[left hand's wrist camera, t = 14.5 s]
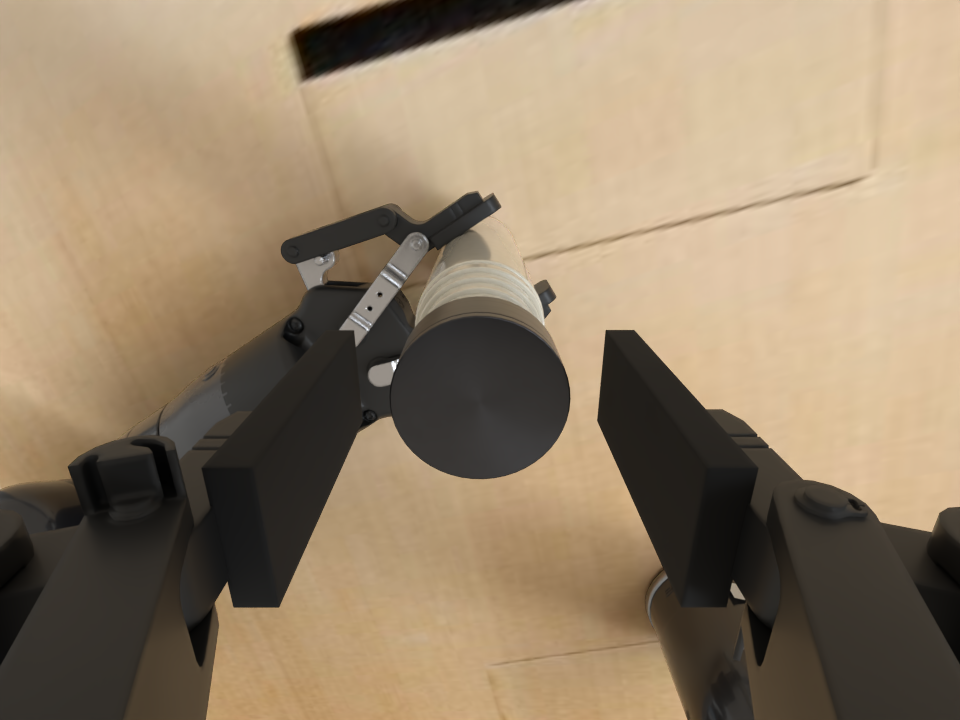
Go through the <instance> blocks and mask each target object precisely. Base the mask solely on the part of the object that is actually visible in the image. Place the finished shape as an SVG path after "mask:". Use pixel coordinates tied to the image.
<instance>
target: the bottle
mask: <svg viewBox="0 0 960 720" xmlns="http://www.w3.org/2000/svg"><path fill="white" fill-rule="evenodd" d="M475 296H485V297H494V298H499V299H503V300H506V301H510V302H512V303H514V304H516V305H519V306H520V307H522V308H524V309H525V310H527V311H529V312H530V313H531V314H532V315H533V316H535V317H536V318H537V319H538V320H539V321H540V322H541V323H542V324H543V325H544V327H545V321H544V312H543V307H542V304H541V301H540V298H539V296H538V294H537V291H536V289H535V287H534V284H533V282H532V280H531V277H530V275H529V273H528V270H527V268H526V266H525V263H524V261H523V259H522V257H521V254H520V252H519V250H518V247H517V245H516V243H515V240H514V238H513V236H512V234H511V232H510V231H509V229H508V228H507V227H506V226H505V225H504V224H503V223H502V222H500V221H499V220H497V219H495V218H492V217H489V216H488V217H487V218H485V219H484V220H482V221H481V222H479V223H478V224H476V225H475V226H473V227H472V228H470V229H469V230H467V231H466V232H464V233H463V234H461V235H460V236H458V237H456V238H455V239H453V240H452V241H451V242H449V243H448V244H446V245H445V246H443V247H442V249H441V251H440V253H439V256H438V258H437V260H436V263H435V265H434V267H433V270H432V272H431V274H430V277H429V279H428V281H427V284H426V286H425V288H424V291H423V293H422V295H421V297H420V300H419V303H418V306H417V311H416V319H415V327H416V325H417V324H418V323H419V322H420V321H421V320H422V319H423V318H424V317H425V316H426V315H427V314H429V313H430V312H432V311H433V310H434V309H436V308H438V307H440V306H441V305H443V304H445V303H448V302H451V301H453V300H457V299H461V298H465V297H475Z"/></svg>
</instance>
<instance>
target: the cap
mask: <svg viewBox="0 0 960 720" xmlns="http://www.w3.org/2000/svg"><path fill="white" fill-rule="evenodd" d="M569 408H570V387H569V381H568V377H567V374H566V371H565V368H564V366H563V363H562V361H561V358H560V356H559V353H558V351H557V349H556V346H555V344H554V342H553V340H552V338H551V336H550V334H549V332H548V331H547V330H546V328H545V327H544V325H543V324H542V323H541V322H540V321H539V320H538V319H537V318H536V317H535V316H533V315H532V314H531V313H530V312H529V311H527V310H525V309H524V308H522V307H520V306H519V305H516V304H514V303H512V302H510V301H506V300H503V299H499V298H494V297H485V296H475V297H465V298H461V299H457V300H453V301H451V302H448V303H445V304H443V305H441V306H440V307H438V308H436V309H434V310H433V311H432V312H430V313H429V314H427V315H426V316H425V317H424V318H423V319H422V320H421V321H420V322H419V323H418V324H417V325H416V327H415V328H414V329H413V330H412V332H411V334H410V335H409V337H408V339H407V341H406V344H405V346H404V348H403V351H402V353H401V356H400V358H399V361H398V363H397V366H396V368H395V371H394V373H393V377H392V381H391V385H390V409H391V414H392V418H393V421H394V424H395V427H396V429H397V431H398V433H399V435H400V436H401V438H402V439H403V441H404V442H405V444H406V445H407V446H408V447H409V448H410V449H411V451H412V452H413V453H414V454H415V455H417V456H418V457H419V458H420V459H421V460H423V461H424V462H426V463H427V464H429V465H430V466H432V467H434V468H436V469H438V470H440V471H442V472H445V473H447V474H450V475H454V476H458V477H462V478H470V479H490V478H497V477H502V476H506V475H509V474H512V473H516V472H518V471H520V470H522V469H524V468H526V467H528V466H530V465H531V464H533V463H534V462H536V461H537V460H538V459H540V458H541V457H542V456H543V455H544V454H545V453H546V452H547V451H548V450H549V449H550V448H551V447H552V446H553V444H554V443H555V442H556V441H557V439H558V437H559V436H560V434H561V432H562V430H563V428H564V426H565V423H566V421H567V417H568V413H569Z"/></svg>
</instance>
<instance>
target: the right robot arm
mask: <svg viewBox="0 0 960 720" xmlns="http://www.w3.org/2000/svg"><path fill="white" fill-rule="evenodd" d="M500 208H501V205H500V203H499V202H498V200H497V198H496V197H495V195H494V193H492V194H490V195H488V196H487V197H485V198H484V199H482V197H481V195H480V194H479V192H478V191H474V192H470V193H467V194H465V195H464V196H462V197H461V198H459V199H458V200H456V201H455V202H453V203H452V204H451V205H449V206H448V207H446V208H445V209H443V210H442V211H440V212H439V213H437V214H436V215H434V216H433V217H432V218H430V219H428V220H426V221H416V220H414V219H412V218H411V217H409V216H408V215H407V214H405V213H404V212H403V211H402V210H401V208H400V207H399V206H397V205H395V204H387V205H384V206H381V207H378V208H375V209H372V210H369V211H367V212H364V213H361V214H358V215H355V216H352V217H349V218H346V219H343V220H340V221H338V222H335V223H332V224H329V225H326V226H323V227H320V228H317V229H314V230H311V231H309V232H306V233H303V234H301V235H298V236H296V237H293V238H291V239H289V240H286V241H285V242H284V243H283V244H282V246H281V254H282V256H283V258H284V259H285V260H286V261H287V262H289V263H292V264H296V266H297V268H298V270H299V272H300V274H301V277H302V279H303V281H304V283H305V285H306V288H307V290H308V291H307V292H306V293H305V295H304V296H303V299H302V301H301V304H300V305H299V307H298V308H297V309H296V310H295V311H294V312H292V313H291V314H289V315H288V316H286V317H285V318H283V319H282V320H281V321H279V322H278V323H276V324H275V325H273V326H272V327H270V328H269V329H267V330H266V331H264V332H263V333H262V334H260V335H259V336H257V337H256V338H254V339H253V340H251V341H250V342H248V343H247V344H245V345H244V346H243V347H241V348H240V349H238V350H237V351H235V352H234V353H232V354H231V355H229V356H228V357H226V358H225V359H224V360H222V361H221V362H219V363H217V364H215V365H213V366H211V367H210V368H209V369H208V370H207V371H206V372H205V373H203V374H202V375H200V376H199V377H198V378H196V379H195V380H194V381H193V382H192V383H191V384H189V385H188V386H187V387H186V388H185V389H184V390H183V391H182V392H181V393H180V394H179V395H178V396H177V397H176V398H174V399H173V400H172V401H170V402H169V403H168V404H166V405H165V406H163V407H162V408H160V409H159V410H157V411H156V412H154V413H153V414H151V415H150V416H148V417H147V418H146V419H144V420H143V421H141V422H139V423H138V424H137V425H135V426H134V427H132V428H131V429H129V430H128V431H127V432H125V433H124V434H123V435H122V436H121V437H119V438H118V439H117V440H119V439H123V438H128V437H133V436H143V435H157V436H164V437H168V438H169V439H171V440H172V441H174V442H175V446H176V450H177V454H178V458H179V460H180V459H181V458H182V457H183V456H184V455H185V454H186V453H187V452H188V451H189V450H192V447H193V446H194V445H195V444H196V443H197V442H198V441H199V440H200V439H203V436H204V435H205V434H206V433H207V432H208V431H209V430H210V429H211V428H212V427H213V426H214V425H215V424H216V423H217V422H219V421H221V420H223V419H224V418H226V417H228V416H230V415H232V414H234V413H235V412H237V411H253V410H254V409H255V408H256V407H257V406H258V405H259V404H260V402H261V401H262V400H263V399H264V398H265V397H266V396H267V395H268V394H269V392H270V391H271V390H272V389H273V388H274V387H275V386H276V385H277V384H278V383H279V381H280V380H281V379H282V378H283V377H284V376H285V375H286V374H287V373H288V371H289V370H290V369H291V368H292V367H293V366H294V365H295V364H296V363H297V361H298V360H299V359H300V358H301V357H302V356H303V355H304V354H305V353H306V352H307V350H308V349H309V348H310V347H311V346H312V345H313V344H314V343H315V342H316V340H317V339H318V338H319V337H320V336H321V335H322V334H323V333H324V332H325V331H326V330H354V334H355V344H356V355H357V366H358V376H359V387H360V397H361V408H362V419H363V421H362V424H361V426H360V428H359V430H358V432H360V431H361V430H363V429H365V428H366V427H368V426H369V425H371V424H372V423H374V422H375V421H377V420H379V419H381V418H385V417H391V416H392V414H391V409H390V385H391V381H392V377H393V373H394V371H395V368H396V366H397V363H398V361H399V358H400V356H401V353H402V351H403V348H404V346H405V344H406V341H407V339H408V337H409V335H410V334H411V332H412V330H413V329H414V328H415V319H416V316H415V315H414V314H413V312H412V309H411V307H410V304H409V302H408V300H407V298H406V297H405V295H404V294H403V293H402V291H401V290H400V288H401V287H402V285H403V284H404V283H405V281H406V280H407V278H408V277H409V276H410V274H411V273H412V272H413V270H414V269H415V268H416V266H417V265H418V264H419V262H420V261H421V259H422V258H423V257H424V255H425V254H426V253H427V252H428V251H429V250H431V249H432V248H434V247H436V249H437V250H439V249H440V248H442V247H443V246H445V245H446V244H448V243H449V242H451V241H452V240H453V239H455V238H456V237H458V236H460V235H461V234H463V233H464V232H466V231H467V230H469V229H470V228H472V227H473V226H475V225H476V224H478V223H479V222H481V221H482V220H484V219H485V218H487V217H488V216H490V215H491V214H493V213H494V212H496V211H497V210H498V209H500ZM384 234H385V235H387V236H388V237H389V238H391V239H392V240H394V241H395V242H396V243H398V244H399V245H400V247H399V248H398V250H397V251H396V252H395V254H394V255H393V257H392V258H391V259H390V261H389V262H388V263H387V265H386V266H385V267H384V269H383V270H382V271H381V273H380V274H379V276H378V277H377V278H376V280H375V281H374V282H373V283H364V282H344V281H328V278H327V273H328V270H329V269H330V268H332V267H333V266H334V265H336V264H337V263H338V261H339V258H340V254H339V251H338V250H339V249H342V248H345V247H348V246H351V245H354V244H357V243H360V242H363V241H366V240H369V239H372V238H375V237H378V236H381V235H384ZM534 287H535V289H536V291H537V294H538V296H539V298H540V301H541V304H542V307H543V312H544V319H545V318H546V317H547V315H548V314H549V313H550V311H551V309H550V307H549V305H548V304H549V303H551V302H552V301H553V300H554V299H555V298H556V295H555V293H554V292H553V290H552V288H551V287H550V285H549V283H548V282H547V280H543V281H540V282H539V283H537V284H535V285H534ZM358 432H357V433H358ZM0 509H1V510H13V511H15V512H16V513H18V514H20V515H21V516H22V518H23V521H24V523H25V526H26V528H27V531H28V533H29V535H30V534H35V533H40V532H46V531H51V530H56V529H61V528H67V527H72V526H77V525H79V524H80V522H81V521H82V519H83V517H84V513H83V510H82V507H81V504H80V501H79V498H78V495H77V492H76V489H75V486H74V483H73V481H72V479H65V480H51V481H39V482H28V483H21V484H16V485H12V486H8V487H5V488H3V489H1V490H0ZM745 603H746V600H745V598H744V597H743V595H742V593H741V592H740V590H739V588H738V587H737V585H736V583H735V582H734V580H733V581H732V586H731V590H730V594H729V598H728V603H727V607H681V606H680V604H679V602H678V600H677V597H676V595H675V593H674V591H673V588H672V586H671V584H670V582H669V579H668V577H667V575H666V573H665V571H664V570H663V571H662V572H661V573H660V574H659V575H658V576H657V577H656V578H655V579H654V580H653V582H652V583H651V585H650V587H649V589H648V592H647V595H646V601H645V606H646V611H647V614H648V617H649V620H650V622H651V624H652V626H653V628H654V629H655V632H656V635H657V638H658V640H659V643H660V646H661V649H662V652H663V655H664V657H665V660H666V663H667V665H668V668H669V671H670V674H671V676H672V679H673V682H674V684H675V687H676V690H677V692H678V695H679V698H680V701H681V703H682V706H683V709H684V711H685V714H686V717H687V719H688V720H754V713H753V706H752V699H751V691H750V684H749V677H748V670H747V663H746V655H745V649H744V650H743V652H742V656H741V660H740V661H737V660H733V653H734V647H735V643H736V639H737V635H738V631H739V627H740V623H741V619H742V615H743V611H744V607H745Z"/></svg>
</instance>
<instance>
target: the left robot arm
mask: <svg viewBox="0 0 960 720" xmlns="http://www.w3.org/2000/svg"><path fill="white" fill-rule="evenodd" d="M362 421H363V419H362V408H361V397H360V387H359V376H358V366H357V355H356V344H355V334H354V330H326V331H325V332H324V333H323V334H322V335H321V336H320V337H319V338H318V339H317V340H316V342H315V343H314V344H313V345H312V346H311V347H310V348H309V349H308V350H307V352H306V353H305V354H304V355H303V356H302V357H301V358H300V359H299V360H298V361H297V363H296V364H295V365H294V366H293V367H292V368H291V369H290V370H289V371H288V373H287V374H286V375H285V376H284V377H283V378H282V379H281V380H280V381H279V383H278V384H277V385H276V386H275V387H274V388H273V389H272V390H271V391H270V392H269V394H268V395H267V396H266V397H265V398H264V399H263V400H262V401H261V402H260V404H259V405H258V406H257V407H256V408H255V409H254V410H253V411H237V412H235V413H234V414H232V415H230V416H228V417H226V418H224V419H223V420H221V421H219V422H217V423H216V424H215V425H214V426H213V427H212V428H211V429H210V430H209V431H208V432H207V433H206V434H205V435H204V436H203V439H200V440H199V441H198V442H197V443H196V444H195V445H194V446H193V447H192V450H189V451H188V452H187V453H186V454H185V455H184V456H183V457H182V458H181V459H180V460H179V458H178V454H177V450H176V446H175V442H174V441H172V440H171V439H169V438H168V437H164V436H157V435H143V436H133V437H128V438H123V439H119V440H114V441H112V442H109V443H106V444H103V445H101V446H98V447H95V448H93V449H91V450H90V451H88V452H86V453H84V454H82V455H81V456H79V457H78V458H76V459H75V460H74V461H73V462H72V463H71V464H70V465H69V466H68V469H69V472H70V475H71V478H72V481H73V483H74V486H75V489H76V492H77V495H78V498H79V501H80V504H81V507H82V510H83V513H84V517H83V519H82V521H81V522H80V524H79V525H77V526H72V527H67V528H61V529H56V530H51V531H46V532H40V533H35V534H30V535H29V533H28V531H27V528H26V526H25V523H24V521H23V518H22V516H21V515H20V514H18V513H16V512H15V511H13V510H1V509H0V720H206V715H207V707H208V700H209V693H210V686H211V679H212V671H213V664H214V657H215V650H216V642H217V635H218V628H219V622H218V616H217V611H216V607H215V601H216V599H217V598H218V596H219V594H220V593H221V591H222V589H223V588H224V586H225V584H226V583H227V581H228V586H229V590H230V594H231V598H232V603H233V607H279V606H280V604H281V602H282V600H283V597H284V595H285V593H286V591H287V588H288V586H289V584H290V582H291V579H292V577H293V575H294V573H295V571H296V568H297V566H298V564H299V562H300V559H301V557H302V555H303V553H304V551H305V548H306V546H307V544H308V542H309V539H310V537H311V535H312V533H313V530H314V528H315V526H316V524H317V522H318V519H319V517H320V515H321V513H322V510H323V508H324V506H325V504H326V502H327V499H328V497H329V495H330V493H331V490H332V488H333V486H334V484H335V481H336V479H337V477H338V475H339V473H340V470H341V468H342V466H343V464H344V461H345V459H346V457H347V455H348V452H349V450H350V448H351V446H352V444H353V441H354V439H355V437H356V435H357V432H358V430H359V428H360V426H361V424H362ZM597 421H598V424H599V426H600V428H601V430H602V432H603V435H604V437H605V439H606V441H607V444H608V446H609V448H610V450H611V452H612V455H613V457H614V459H615V461H616V464H617V466H618V468H619V470H620V473H621V475H622V477H623V479H624V481H625V484H626V486H627V488H628V490H629V493H630V495H631V497H632V499H633V502H634V504H635V506H636V508H637V510H638V513H639V515H640V517H641V519H642V522H643V524H644V526H645V528H646V530H647V533H648V535H649V537H650V539H651V542H652V544H653V546H654V548H655V551H656V553H657V555H658V557H659V559H660V562H661V564H662V566H663V568H664V571H665V573H666V575H667V577H668V579H669V582H670V584H671V586H672V588H673V591H674V593H675V595H676V597H677V600H678V602H679V604H680V606H681V607H727V603H728V598H729V594H730V590H731V586H732V581H733V580H734V582H735V583H736V585H737V587H738V588H739V590H740V592H741V593H742V595H743V597H744V598H745V600H746V603H745V607H744V611H743V615H742V619H741V623H740V627H739V631H738V635H737V639H736V643H735V647H734V653H733V660H737V661H740V660H741V656H742V652H743V650H744V649H745V655H746V663H747V670H748V677H749V684H750V691H751V699H752V706H753V713H754V720H960V507H953V508H947V509H945V510H944V511H942V512H941V513H939V516H938V518H937V521H936V523H935V526H934V528H933V531H932V532H927V531H922V530H917V529H912V528H906V527H901V526H896V525H890V524H885V523H881V522H880V521H879V520H878V518H877V516H876V514H875V513H874V512H873V511H872V510H871V509H870V508H869V507H868V505H867V504H866V503H864V502H863V501H861V500H860V499H858V498H856V497H855V496H853V495H852V494H850V493H848V492H846V491H843V490H841V489H839V488H836V487H834V486H831V485H828V484H824V483H820V482H816V481H810V480H803V479H802V478H801V477H800V476H799V475H798V474H797V473H796V472H795V471H794V470H793V469H792V468H791V467H790V466H789V465H788V464H787V463H786V462H785V461H784V460H783V459H782V458H781V457H780V456H779V455H778V454H777V453H776V452H775V451H774V450H773V449H772V448H769V447H768V446H769V445H767V444H766V443H765V442H764V441H763V440H762V439H761V438H760V437H757V434H756V433H755V432H754V431H753V430H752V429H751V428H750V427H749V426H748V425H747V424H746V423H745V422H744V421H743V420H741V419H739V418H737V417H736V416H734V415H732V414H730V413H728V412H726V411H724V410H723V409H705V408H704V407H703V406H702V405H701V404H700V402H699V401H698V400H697V399H696V398H695V397H694V396H693V395H692V394H691V392H690V391H689V390H688V389H687V388H686V387H685V386H684V385H683V384H682V383H681V381H680V380H679V379H678V378H677V377H676V376H675V375H674V374H673V373H672V371H671V370H670V369H669V368H668V367H667V366H666V365H665V364H664V363H663V361H662V360H661V359H660V358H659V357H658V356H657V355H656V354H655V353H654V352H653V350H652V349H651V348H650V347H649V346H648V345H647V344H646V343H645V342H644V340H643V339H642V338H641V337H640V336H639V335H638V334H637V333H636V332H635V331H634V330H606V334H605V344H604V355H603V365H602V376H601V387H600V397H599V408H598V419H597Z"/></svg>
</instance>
